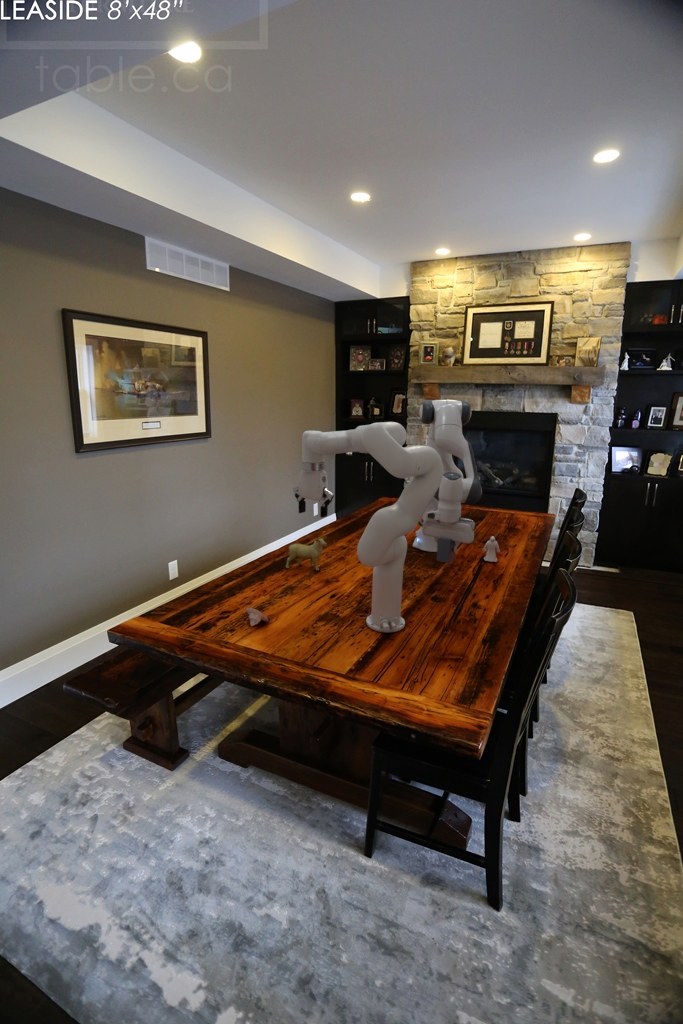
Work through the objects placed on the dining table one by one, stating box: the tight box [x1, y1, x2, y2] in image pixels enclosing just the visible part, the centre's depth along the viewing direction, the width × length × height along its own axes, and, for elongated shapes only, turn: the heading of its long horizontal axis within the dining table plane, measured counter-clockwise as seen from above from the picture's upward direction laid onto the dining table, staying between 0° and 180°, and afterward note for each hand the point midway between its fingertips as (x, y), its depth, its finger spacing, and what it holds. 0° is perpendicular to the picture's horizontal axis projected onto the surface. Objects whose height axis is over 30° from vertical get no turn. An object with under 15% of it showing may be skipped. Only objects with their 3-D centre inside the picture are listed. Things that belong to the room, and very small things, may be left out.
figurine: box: [482, 535, 501, 563], centre depth 223 cm, size 8×8×12 cm
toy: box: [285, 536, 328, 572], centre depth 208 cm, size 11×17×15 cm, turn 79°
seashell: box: [245, 607, 269, 627], centre depth 160 cm, size 8×5×8 cm
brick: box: [436, 537, 456, 564], centre depth 194 cm, size 5×6×9 cm
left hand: (312, 514), depth 177 cm, fingers open, 9 cm apart
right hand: (446, 549), depth 194 cm, fingers closed on brick, 5 cm apart
